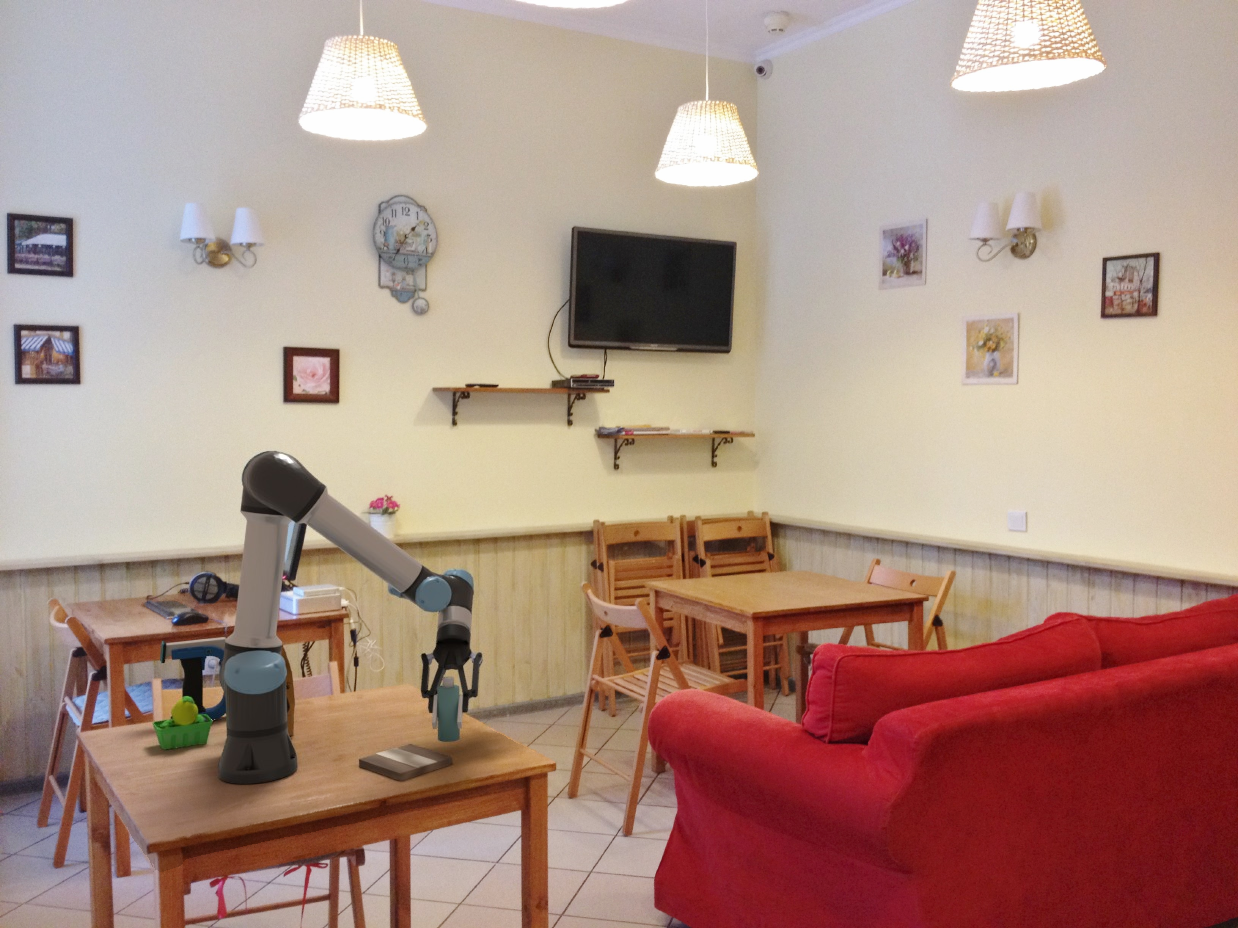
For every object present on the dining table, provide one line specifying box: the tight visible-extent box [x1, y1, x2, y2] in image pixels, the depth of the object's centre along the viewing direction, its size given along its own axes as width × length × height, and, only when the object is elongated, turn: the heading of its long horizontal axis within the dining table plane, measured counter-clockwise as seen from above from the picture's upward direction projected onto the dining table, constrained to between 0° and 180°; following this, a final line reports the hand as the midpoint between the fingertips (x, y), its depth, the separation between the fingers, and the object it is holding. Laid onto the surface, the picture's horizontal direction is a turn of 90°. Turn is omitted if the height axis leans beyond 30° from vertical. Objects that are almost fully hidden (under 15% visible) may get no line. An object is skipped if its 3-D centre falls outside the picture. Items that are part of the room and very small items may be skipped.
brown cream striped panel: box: [358, 743, 454, 782], centre depth 216 cm, size 13×14×2 cm
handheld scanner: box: [159, 636, 226, 720], centre depth 251 cm, size 5×16×20 cm, turn 115°
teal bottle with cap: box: [437, 676, 461, 743], centre depth 224 cm, size 5×5×13 cm
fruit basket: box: [152, 696, 214, 751], centre depth 232 cm, size 11×9×11 cm
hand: (446, 725), depth 220 cm, fingers closed on teal bottle with cap, 4 cm apart
